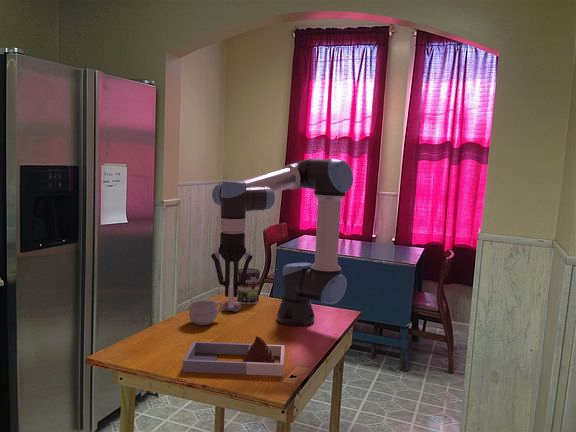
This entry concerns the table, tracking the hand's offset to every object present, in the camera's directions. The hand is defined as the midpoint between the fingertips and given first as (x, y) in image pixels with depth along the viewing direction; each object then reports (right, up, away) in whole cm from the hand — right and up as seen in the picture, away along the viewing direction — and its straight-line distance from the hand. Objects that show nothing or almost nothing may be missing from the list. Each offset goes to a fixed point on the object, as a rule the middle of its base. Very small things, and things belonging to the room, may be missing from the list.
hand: (231, 306), depth 159 cm
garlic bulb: (-6, -12, +56) cm, 58 cm away
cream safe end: (+10, -18, +2) cm, 21 cm away
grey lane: (-4, -18, +2) cm, 19 cm away
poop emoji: (+8, -19, +2) cm, 21 cm away
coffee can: (0, -10, +71) cm, 72 cm away
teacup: (-14, -13, +40) cm, 44 cm away
